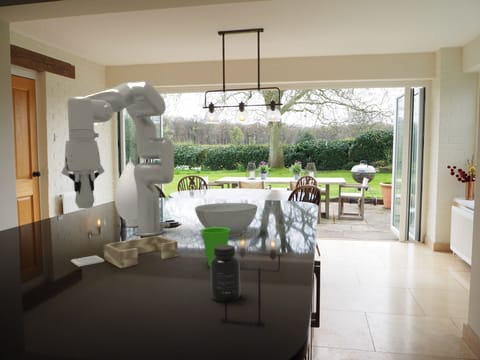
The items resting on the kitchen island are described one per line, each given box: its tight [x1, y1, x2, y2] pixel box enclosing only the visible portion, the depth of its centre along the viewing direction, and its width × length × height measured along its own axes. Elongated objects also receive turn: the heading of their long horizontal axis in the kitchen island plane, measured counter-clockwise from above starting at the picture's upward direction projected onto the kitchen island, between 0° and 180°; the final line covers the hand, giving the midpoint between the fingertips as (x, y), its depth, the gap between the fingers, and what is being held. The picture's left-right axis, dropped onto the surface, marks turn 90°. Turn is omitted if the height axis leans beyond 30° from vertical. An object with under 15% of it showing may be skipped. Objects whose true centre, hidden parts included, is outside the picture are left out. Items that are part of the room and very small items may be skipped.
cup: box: [200, 227, 230, 268], centre depth 114 cm, size 9×9×11 cm
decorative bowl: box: [194, 202, 259, 238], centre depth 161 cm, size 27×27×12 cm
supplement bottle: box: [210, 244, 241, 303], centre depth 88 cm, size 7×7×12 cm
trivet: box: [70, 255, 105, 267], centre depth 122 cm, size 8×8×1 cm
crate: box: [103, 235, 179, 269], centre depth 126 cm, size 20×14×5 cm
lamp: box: [114, 156, 138, 228], centre depth 188 cm, size 16×16×35 cm
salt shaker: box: [74, 169, 95, 209], centre depth 121 cm, size 6×6×13 cm
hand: (84, 193), depth 121 cm, fingers closed on salt shaker, 3 cm apart
